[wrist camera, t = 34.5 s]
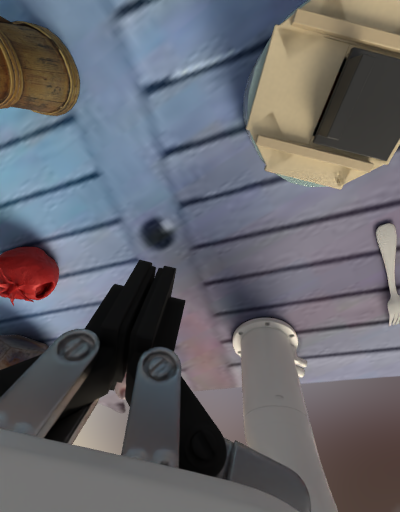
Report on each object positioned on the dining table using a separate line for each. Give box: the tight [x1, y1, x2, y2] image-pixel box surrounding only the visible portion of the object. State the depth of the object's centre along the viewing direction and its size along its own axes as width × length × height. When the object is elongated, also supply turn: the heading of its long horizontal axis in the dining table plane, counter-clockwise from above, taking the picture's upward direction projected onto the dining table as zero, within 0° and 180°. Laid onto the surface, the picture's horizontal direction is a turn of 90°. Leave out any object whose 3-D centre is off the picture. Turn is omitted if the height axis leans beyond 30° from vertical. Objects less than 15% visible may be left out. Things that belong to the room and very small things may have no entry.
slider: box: [313, 47, 400, 161], centre depth 19 cm, size 7×7×3 cm
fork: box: [376, 223, 400, 326], centre depth 40 cm, size 3×21×3 cm, turn 24°
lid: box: [246, 0, 400, 189], centre depth 21 cm, size 13×13×2 cm
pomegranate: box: [0, 247, 59, 306], centre depth 43 cm, size 10×10×9 cm
